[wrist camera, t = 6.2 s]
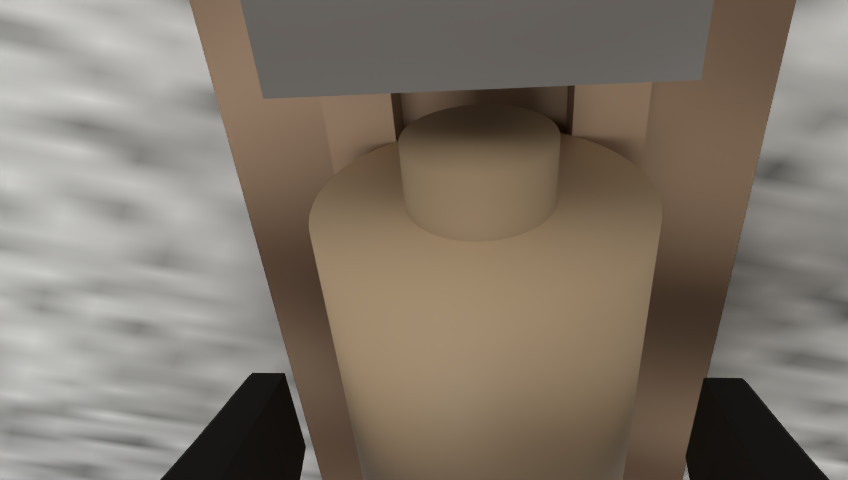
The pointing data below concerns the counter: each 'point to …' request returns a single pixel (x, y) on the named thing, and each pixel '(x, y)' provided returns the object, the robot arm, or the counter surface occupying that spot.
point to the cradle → (516, 86)
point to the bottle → (488, 298)
